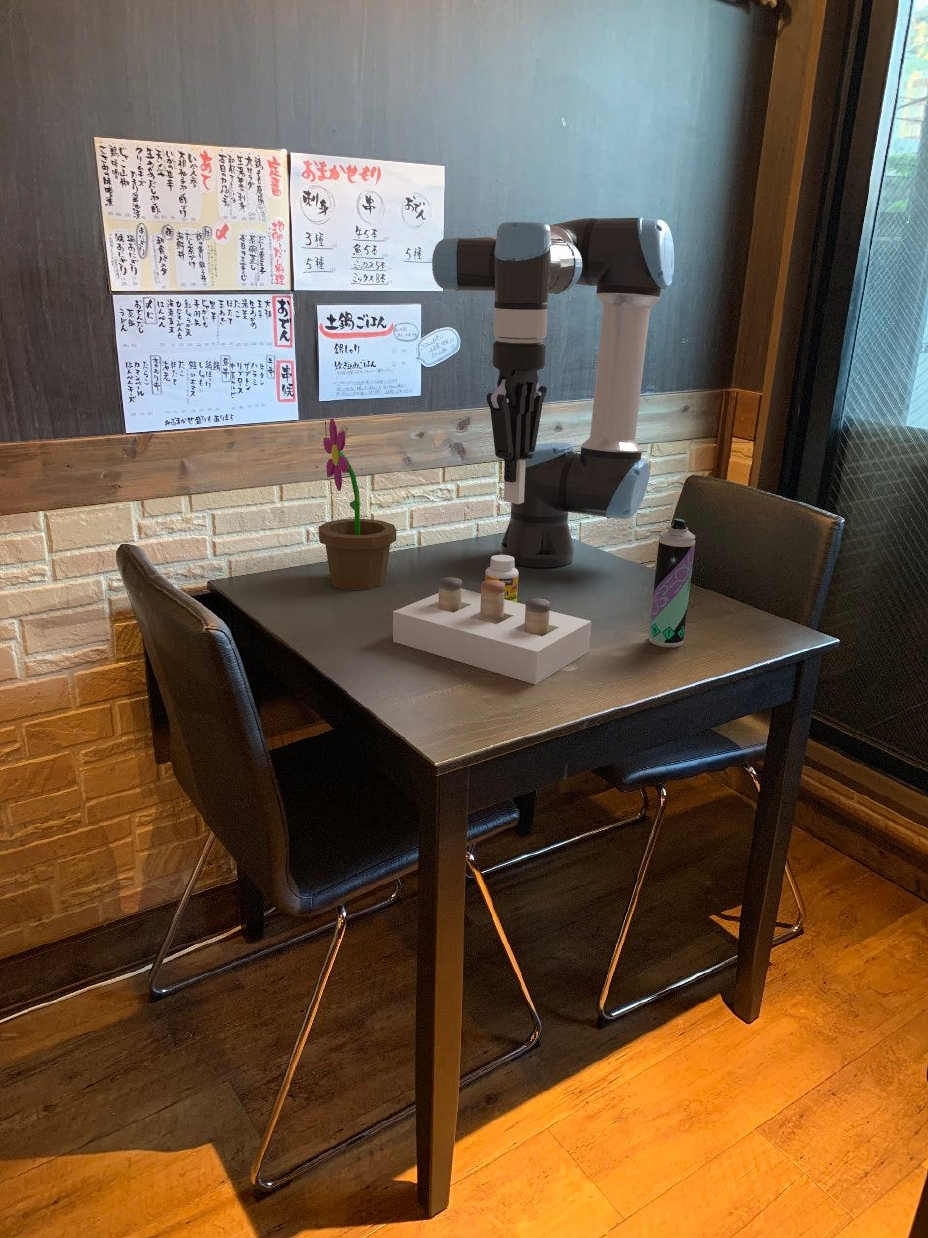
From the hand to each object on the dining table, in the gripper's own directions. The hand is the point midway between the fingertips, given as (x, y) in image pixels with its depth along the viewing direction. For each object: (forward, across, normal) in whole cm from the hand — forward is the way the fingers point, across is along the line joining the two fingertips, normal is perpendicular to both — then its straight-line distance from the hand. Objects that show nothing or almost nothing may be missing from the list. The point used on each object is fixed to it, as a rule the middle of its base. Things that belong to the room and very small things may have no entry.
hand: (513, 501), depth 141 cm
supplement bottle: (+23, -7, -6) cm, 25 cm away
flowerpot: (+23, -6, -37) cm, 44 cm away
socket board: (+22, +6, 0) cm, 23 cm away
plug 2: (+21, +6, 0) cm, 21 cm away
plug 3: (+22, +6, +8) cm, 24 cm away
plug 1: (+22, +6, -8) cm, 24 cm away
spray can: (+23, -14, +21) cm, 34 cm away
